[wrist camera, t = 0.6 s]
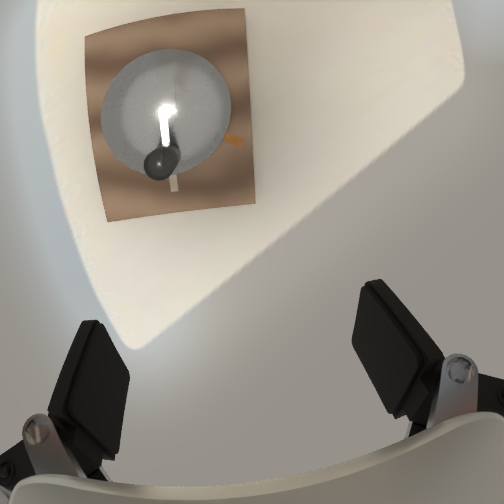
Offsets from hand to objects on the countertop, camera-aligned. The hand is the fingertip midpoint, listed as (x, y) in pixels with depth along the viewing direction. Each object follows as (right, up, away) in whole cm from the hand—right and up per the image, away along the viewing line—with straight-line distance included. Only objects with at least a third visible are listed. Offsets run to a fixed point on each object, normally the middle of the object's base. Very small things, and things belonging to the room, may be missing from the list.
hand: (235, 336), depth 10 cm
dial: (-8, +17, +15) cm, 24 cm away
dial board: (-8, +18, +17) cm, 26 cm away
